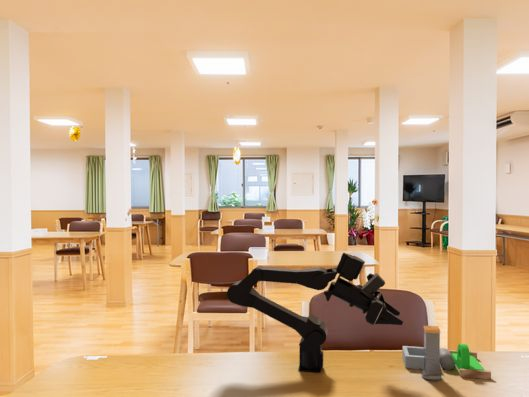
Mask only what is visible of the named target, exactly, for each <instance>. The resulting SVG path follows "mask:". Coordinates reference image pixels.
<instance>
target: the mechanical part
mask: <svg viewBox="0 0 529 397" xmlns="http://www.w3.org/2000/svg"><path fill="white" fill-rule="evenodd" d="M456 349H457V354H456V353H452V357H453V359H454V361H455V366H456V367H457V369H458V372H460V369H473V370H485V368H484V367H483V366H482V364H481V363H480V362H479V361H478V359H475V357H473V356H471V355H470V353H469V351H470V348H469V346H468V344H467V343H458V344H457V348H456Z"/></svg>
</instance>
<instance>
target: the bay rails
mask: <svg viewBox="0 0 529 397" xmlns="http://www.w3.org/2000/svg"><path fill="white" fill-rule="evenodd" d="M448 350H449V352H450V354H451V355H452V353H456V354H457V350H456V349H455V350H453V349H448ZM469 353H470V355H471V356H473V357H475V359H476V360H478V352H477V351H472V350H471V351H470V350H469ZM459 377H460V378H467V379H469V378H471V379H481V380H484V379H485V380H492V372H491V370H485V369H484V370H473V369H460V371H459Z"/></svg>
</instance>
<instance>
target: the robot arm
mask: <svg viewBox="0 0 529 397" xmlns="http://www.w3.org/2000/svg"><path fill="white" fill-rule="evenodd" d="M365 263H366V261H365V260H364V259H362V258H360V257H358V256H356V255H352V254H349V253H346V252H342V254H341V257H340V260H339V262H338V264H337V267H331V268H326V267H322V266H317V267H309V268H304V269H292V268H278V267H276V268H274V267H264V266H261V265H260V266H256V267H254V268H253V269H252V270H251V271H250V273H249V274H248V275H246V277H244V278H243V279H242V280H238V281H237V280H236V282H234V283H233V284H231V285H230V286H228V289H227V291H226V296H227V299H228V301H229V302H230V303H232V304H233V305H238V306H240V307H245V308H251V309H254V310H257V311H258V312H260V313H262V314H263V315H265V316H268V317H270V318H271V319H274V320H275V321H277V322H280V323H281V324H283V325H285V326H287V327H289V328H291V329H293V330H294V331H295V332H296V333H298V335H300V337H301V338H300V340H299V343H298V345H299V351H298V353H299V356H298V357H299V359H298V360H299V361H298V362H299V363H298V364H299V365H298V368H297V369H298V371H301V372H312V373H321V372H322V368H323V367H324V351H323V350H322V346H323V344H325V342H326V340H327V336H328V331H329V330H328V326H327V324H326V323H325V322H324V321H323V318H321V317H317V316H315V315H314V314H313V313H310V312H309V314H308V316H302V315H300V314H298V313H296V312H294V311H292V310H291V309H288V308H286V307H284V306H282V304H279V303H277V302H275V301H273V300H271V299H269V298H267V297H265V296H263V295H261V294H260V293H259V292H258V291H257V290H256V289H255V288H254V286H256V284H258V283H259V282H269V283H279V284H280V283H281V284H292V285H293V284H294V285H300V286H303V287H304V288H308V289H312V290H315V291H316V290H317V291H322V290H323V295H324V296H325V299H326V301H327V302H329V301H330V299H331V298H332V296H333V297H334V298H336V299H338V300H340V301H343V302H344V303H347V304H348V306H349V307H351V308H353V307H354V308H356V309H358V310H361V311H362V314H364V318H365V321H366V323H368V324H370V325H372V326H374V325H392V326H393V325H394V326H395V325H396V326H403V323H404V321H403V320H402V319H401V318H400V317H398V316H400V313H401V312H400V311H399V310H398V309H396V308H395V307H394V306H393V305H391V304H390V303H389V302H388V301H387V300H385V298H384V295H383V293H382V292H381V290H380V288H383V287H384V286H386V281H385V280H384V278H382V277H381V276H380V274H379V273H378V272H377V273H376V272H375V273H372V272H371V273H369V274H367V275H366V279H367V281H366V282H365V283H364V284H363V285H361V284H354V283H352V282H353V281H354V280H356V281H357V280H358V278H359V276H360V274H361V272H362V269H363V267H364V265H365ZM337 275H338V276H337ZM336 277H337V278H336ZM335 279H336V280H335ZM334 280H335V281H334ZM328 285H329V286H328ZM327 287H328V289H327V290H325V289H326V288H327Z"/></svg>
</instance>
